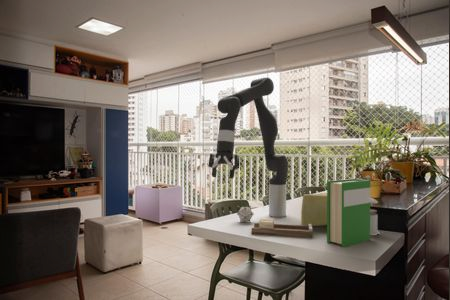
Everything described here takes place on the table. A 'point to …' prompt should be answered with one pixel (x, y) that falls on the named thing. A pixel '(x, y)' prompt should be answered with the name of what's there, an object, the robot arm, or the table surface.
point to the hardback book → (348, 211)
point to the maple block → (266, 223)
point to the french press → (373, 217)
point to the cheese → (314, 209)
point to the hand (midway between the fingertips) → (222, 177)
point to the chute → (285, 230)
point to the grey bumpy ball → (245, 214)
